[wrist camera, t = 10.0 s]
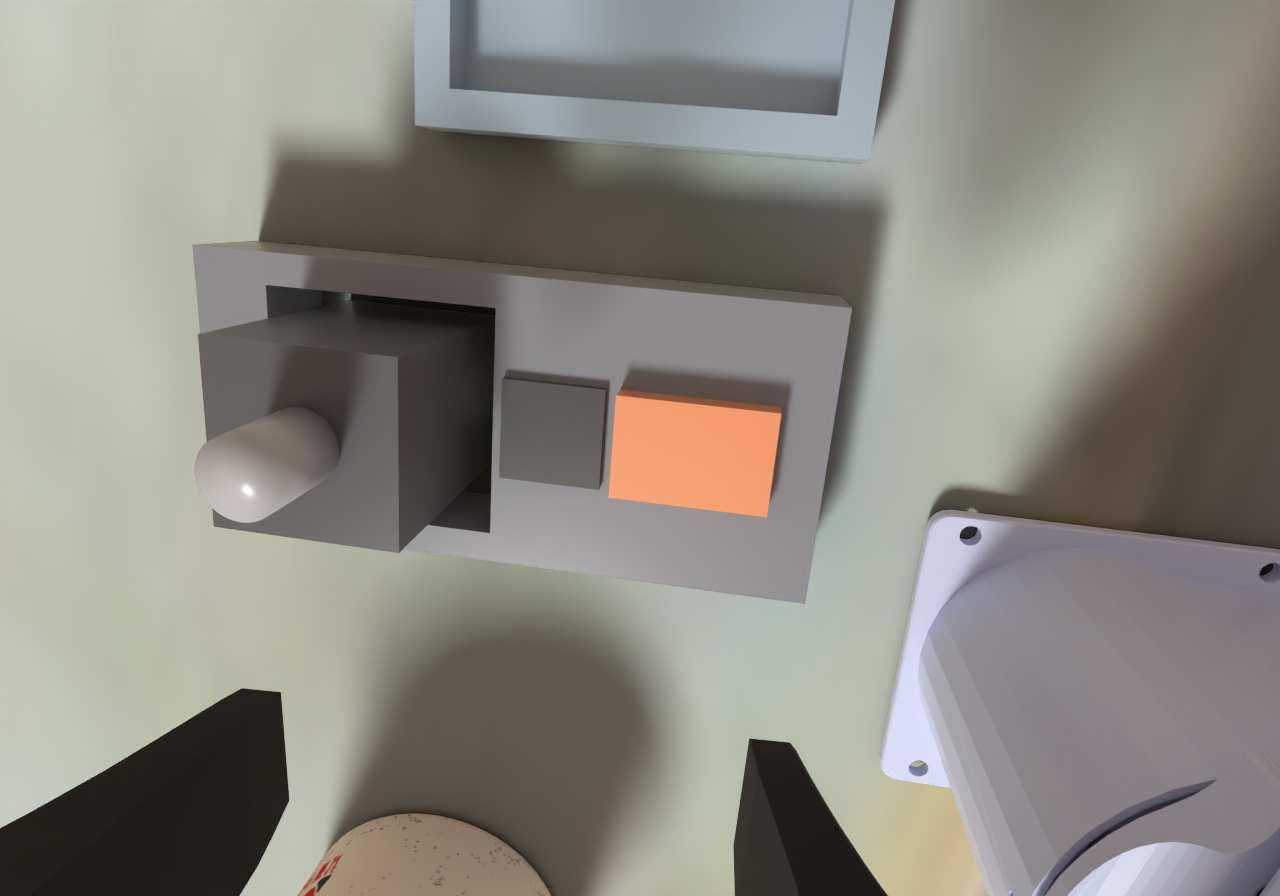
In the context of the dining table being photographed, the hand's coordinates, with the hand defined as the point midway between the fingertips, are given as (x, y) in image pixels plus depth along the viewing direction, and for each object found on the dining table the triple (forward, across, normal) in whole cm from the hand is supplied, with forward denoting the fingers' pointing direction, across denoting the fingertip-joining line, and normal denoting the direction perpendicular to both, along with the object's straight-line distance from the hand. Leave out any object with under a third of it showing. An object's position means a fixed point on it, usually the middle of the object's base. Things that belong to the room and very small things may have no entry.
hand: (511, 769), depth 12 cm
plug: (+10, +5, -3) cm, 12 cm away
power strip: (+10, +2, -3) cm, 11 cm away
